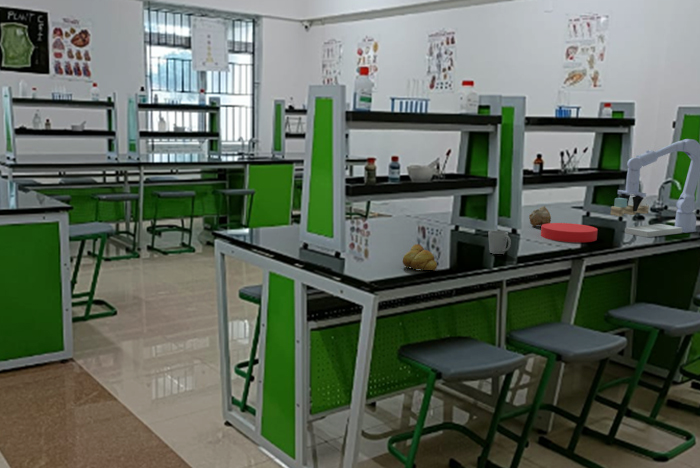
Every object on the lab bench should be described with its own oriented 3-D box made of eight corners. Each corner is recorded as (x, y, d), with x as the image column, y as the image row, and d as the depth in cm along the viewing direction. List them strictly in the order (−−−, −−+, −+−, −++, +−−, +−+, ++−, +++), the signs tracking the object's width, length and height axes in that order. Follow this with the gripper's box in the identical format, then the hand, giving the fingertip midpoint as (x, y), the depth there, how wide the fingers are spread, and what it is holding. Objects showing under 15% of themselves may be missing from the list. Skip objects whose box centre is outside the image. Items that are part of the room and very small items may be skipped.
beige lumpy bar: (639, 212, 333) (640, 204, 332) (648, 213, 328) (649, 205, 328) (610, 214, 321) (611, 206, 321) (619, 216, 317) (620, 207, 317)
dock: (659, 228, 326) (659, 223, 326) (682, 232, 316) (682, 227, 316) (624, 232, 313) (625, 227, 312) (647, 237, 303) (648, 231, 302)
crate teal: (619, 206, 323) (620, 197, 322) (626, 207, 320) (627, 198, 319) (614, 206, 321) (614, 198, 320) (621, 207, 318) (621, 199, 317)
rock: (551, 228, 320) (552, 208, 318) (529, 227, 322) (530, 207, 320) (549, 224, 332) (550, 205, 330) (527, 223, 334) (529, 204, 332)
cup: (496, 250, 266) (497, 229, 264) (515, 255, 258) (517, 233, 256) (483, 252, 261) (484, 231, 260) (502, 257, 253) (504, 235, 252)
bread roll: (442, 271, 230) (443, 248, 228) (422, 274, 224) (423, 251, 223) (417, 264, 240) (418, 242, 238) (397, 267, 234) (397, 245, 233)
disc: (609, 230, 294) (569, 233, 282) (608, 240, 294) (569, 244, 283) (568, 221, 314) (530, 224, 303) (567, 231, 315) (529, 235, 304)
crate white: (639, 204, 331) (639, 196, 330) (646, 205, 327) (647, 197, 327) (634, 204, 329) (634, 196, 328) (641, 206, 325) (641, 197, 325)
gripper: (614, 181, 326) (612, 208, 329) (640, 184, 314) (637, 212, 316) (623, 181, 330) (621, 208, 332) (649, 183, 318) (647, 212, 320)
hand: (629, 210), depth 325 cm, fingers closed on beige lumpy bar, 5 cm apart
